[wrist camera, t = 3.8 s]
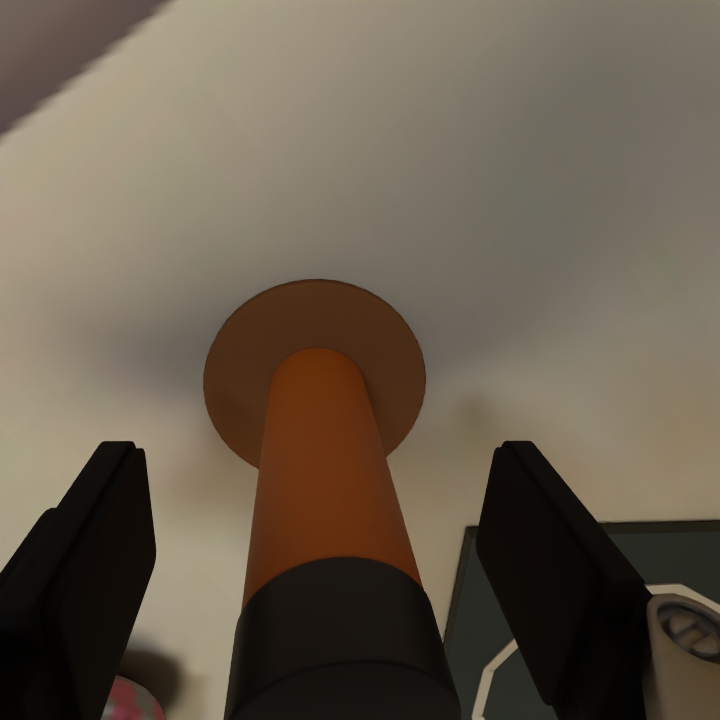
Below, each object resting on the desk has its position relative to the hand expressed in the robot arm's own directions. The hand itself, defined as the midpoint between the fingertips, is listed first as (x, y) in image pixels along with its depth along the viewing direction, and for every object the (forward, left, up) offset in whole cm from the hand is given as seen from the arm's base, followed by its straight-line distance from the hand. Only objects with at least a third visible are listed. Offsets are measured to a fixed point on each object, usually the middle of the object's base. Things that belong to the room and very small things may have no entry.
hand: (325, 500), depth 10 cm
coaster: (0, 0, -6) cm, 6 cm away
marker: (0, 0, -5) cm, 5 cm away
